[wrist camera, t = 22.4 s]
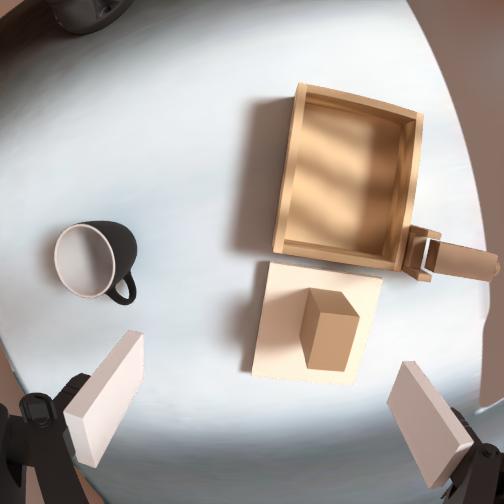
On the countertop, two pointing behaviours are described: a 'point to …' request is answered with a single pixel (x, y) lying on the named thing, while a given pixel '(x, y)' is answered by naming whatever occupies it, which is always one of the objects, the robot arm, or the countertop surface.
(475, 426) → the countertop surface
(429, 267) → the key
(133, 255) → the mug
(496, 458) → the robot arm
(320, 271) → the lid
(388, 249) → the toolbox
